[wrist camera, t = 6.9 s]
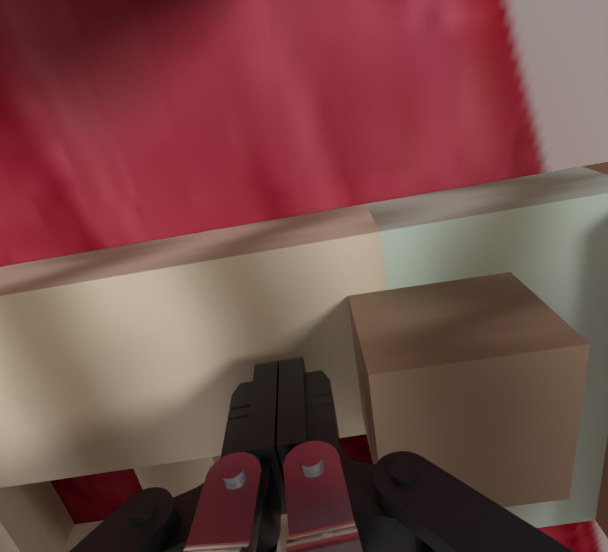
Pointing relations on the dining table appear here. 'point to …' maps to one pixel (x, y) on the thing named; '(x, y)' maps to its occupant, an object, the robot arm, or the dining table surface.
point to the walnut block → (473, 383)
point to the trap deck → (268, 334)
